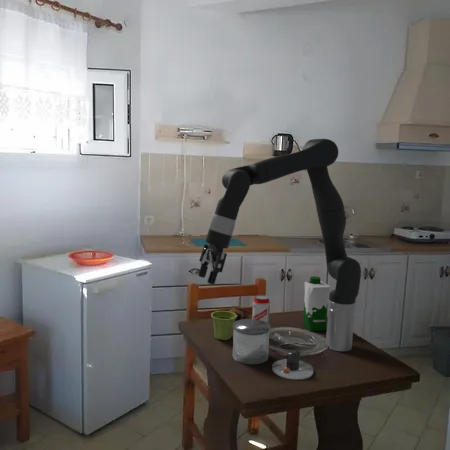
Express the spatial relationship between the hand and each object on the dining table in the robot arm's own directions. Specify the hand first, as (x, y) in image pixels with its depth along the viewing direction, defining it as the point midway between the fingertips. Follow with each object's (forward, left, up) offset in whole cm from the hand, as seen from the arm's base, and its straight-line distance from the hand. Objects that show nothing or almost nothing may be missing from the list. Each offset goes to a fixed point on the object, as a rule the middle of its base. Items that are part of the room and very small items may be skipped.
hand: (205, 280), depth 153 cm
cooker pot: (-15, +9, -28) cm, 33 cm away
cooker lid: (-15, +25, -28) cm, 40 cm away
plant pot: (-23, -8, -28) cm, 37 cm away
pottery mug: (-37, -12, -28) cm, 48 cm away
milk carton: (-55, +14, -28) cm, 63 cm away
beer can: (-31, +3, -28) cm, 42 cm away
